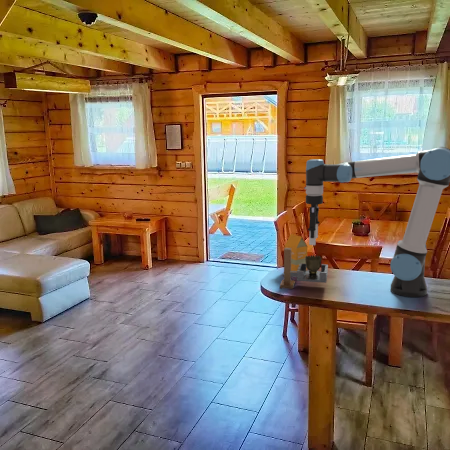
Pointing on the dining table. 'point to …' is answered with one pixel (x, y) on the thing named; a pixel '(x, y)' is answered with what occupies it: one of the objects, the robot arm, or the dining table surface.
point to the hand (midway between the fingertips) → (313, 241)
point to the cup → (313, 263)
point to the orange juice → (296, 250)
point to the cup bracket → (300, 272)
